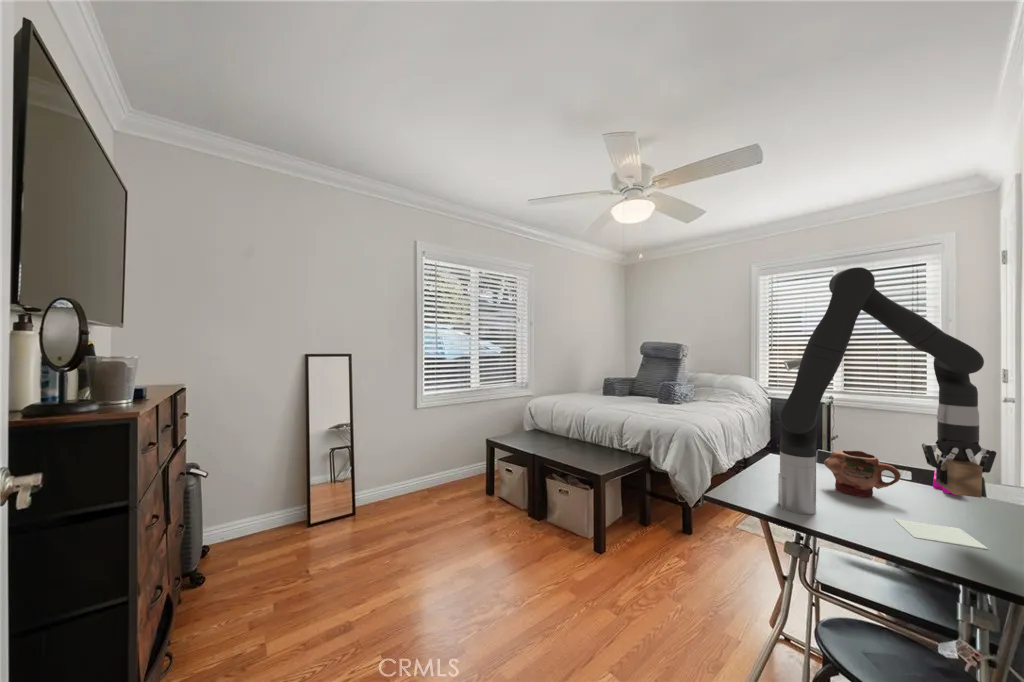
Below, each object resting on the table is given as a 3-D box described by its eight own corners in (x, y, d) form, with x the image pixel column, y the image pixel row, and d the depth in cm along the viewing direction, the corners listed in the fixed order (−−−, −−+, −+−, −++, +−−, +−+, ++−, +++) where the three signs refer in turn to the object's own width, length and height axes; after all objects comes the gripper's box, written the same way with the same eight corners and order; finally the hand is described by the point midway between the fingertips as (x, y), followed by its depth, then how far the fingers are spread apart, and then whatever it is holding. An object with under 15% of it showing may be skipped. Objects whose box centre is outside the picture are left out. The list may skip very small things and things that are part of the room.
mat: (914, 538, 106) (914, 537, 106) (894, 520, 117) (894, 518, 117) (988, 550, 100) (988, 548, 100) (960, 530, 111) (960, 528, 111)
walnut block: (954, 494, 104) (955, 464, 104) (935, 481, 112) (936, 453, 112) (981, 497, 102) (982, 466, 102) (960, 484, 110) (961, 456, 110)
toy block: (935, 481, 151) (935, 461, 151) (959, 486, 146) (960, 465, 146) (932, 491, 141) (932, 470, 141) (958, 496, 136) (958, 474, 136)
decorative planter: (902, 498, 134) (902, 456, 134) (899, 508, 126) (899, 464, 126) (827, 482, 149) (827, 445, 149) (820, 490, 141) (820, 451, 141)
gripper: (929, 421, 107) (928, 485, 107) (1005, 426, 101) (1005, 494, 101) (915, 417, 114) (915, 477, 114) (986, 421, 108) (986, 484, 107)
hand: (957, 484), depth 107 cm, fingers closed on walnut block, 5 cm apart
